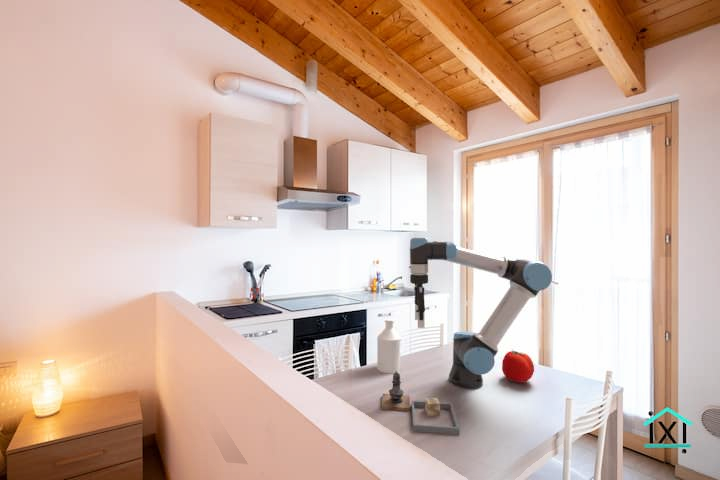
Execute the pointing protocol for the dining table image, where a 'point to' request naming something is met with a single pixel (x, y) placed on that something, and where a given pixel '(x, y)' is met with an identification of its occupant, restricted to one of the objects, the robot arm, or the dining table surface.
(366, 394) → the dining table surface
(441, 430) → the tray
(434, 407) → the beech block
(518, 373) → the tomato
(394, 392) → the dark grey chess piece
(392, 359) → the bottle
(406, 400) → the light brown wooden board
